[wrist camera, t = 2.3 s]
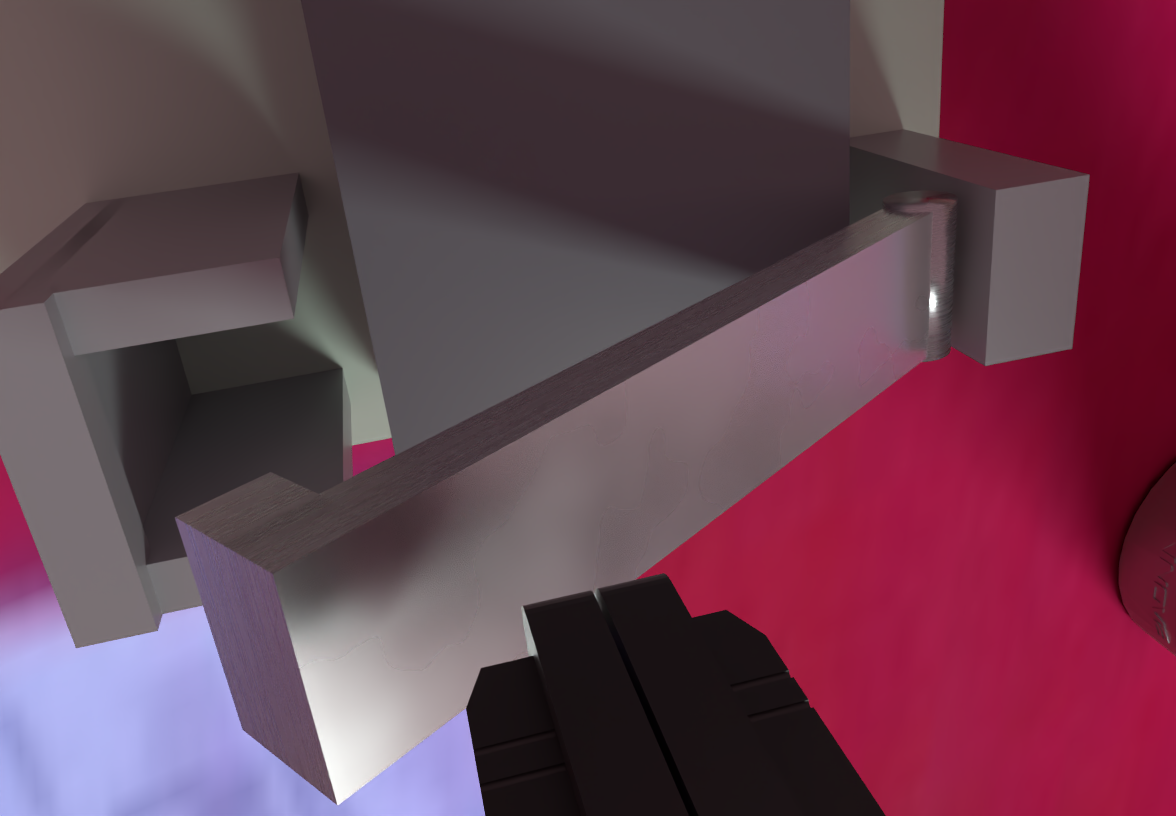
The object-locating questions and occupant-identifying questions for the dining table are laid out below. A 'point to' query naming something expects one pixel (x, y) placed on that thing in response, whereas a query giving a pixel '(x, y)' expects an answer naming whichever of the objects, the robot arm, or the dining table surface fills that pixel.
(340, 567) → the grey hinged latch bar
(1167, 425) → the dining table surface
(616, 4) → the base
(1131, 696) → the dining table surface
